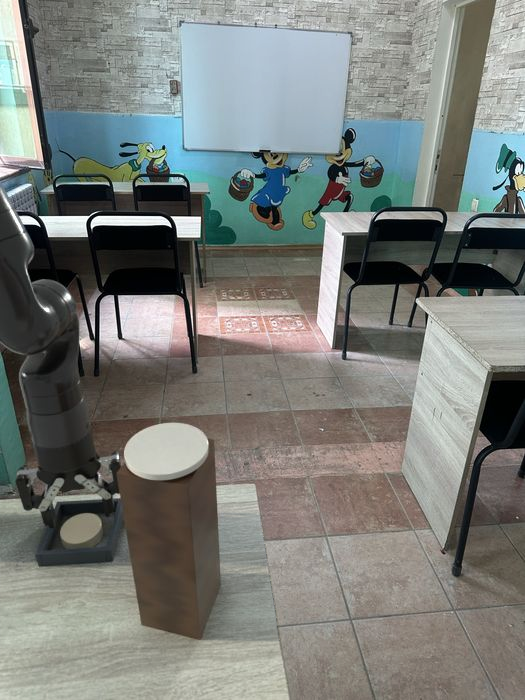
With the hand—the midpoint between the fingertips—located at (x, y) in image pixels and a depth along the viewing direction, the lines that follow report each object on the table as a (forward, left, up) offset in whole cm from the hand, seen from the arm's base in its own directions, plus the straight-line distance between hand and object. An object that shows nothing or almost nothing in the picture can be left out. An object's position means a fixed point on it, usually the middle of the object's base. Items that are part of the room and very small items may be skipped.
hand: (80, 518), depth 72 cm
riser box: (+19, -7, -5) cm, 21 cm away
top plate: (0, 0, -4) cm, 4 cm away
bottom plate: (+19, -7, +21) cm, 29 cm away
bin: (0, 0, -5) cm, 5 cm away
